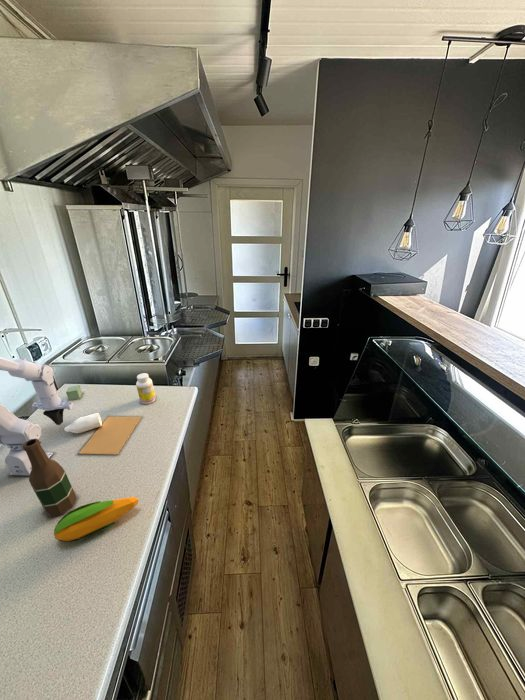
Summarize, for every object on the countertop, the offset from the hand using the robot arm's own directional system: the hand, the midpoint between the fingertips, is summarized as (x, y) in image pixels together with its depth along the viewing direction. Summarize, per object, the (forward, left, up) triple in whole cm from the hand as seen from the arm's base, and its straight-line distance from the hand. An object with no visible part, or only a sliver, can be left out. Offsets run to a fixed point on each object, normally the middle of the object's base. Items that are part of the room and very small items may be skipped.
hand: (60, 423), depth 110 cm
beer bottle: (-31, -21, -3) cm, 38 cm away
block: (+22, +9, -3) cm, 24 cm away
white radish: (0, -9, -3) cm, 10 cm away
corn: (-36, -36, -3) cm, 51 cm away
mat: (-2, -21, -3) cm, 21 cm away
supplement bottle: (+20, -26, -3) cm, 33 cm away
